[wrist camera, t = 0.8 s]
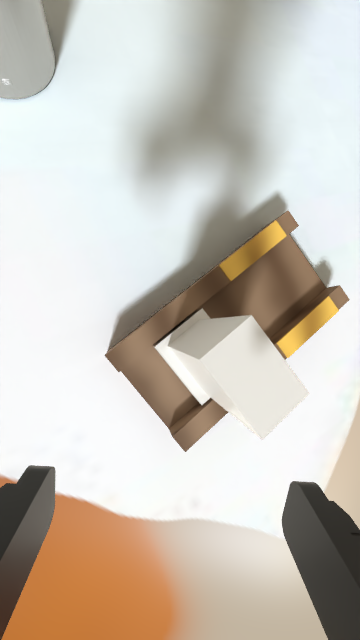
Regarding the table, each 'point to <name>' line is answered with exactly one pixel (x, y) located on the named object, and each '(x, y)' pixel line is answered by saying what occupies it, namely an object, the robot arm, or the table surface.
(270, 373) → the switch tab
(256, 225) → the table surface
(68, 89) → the table surface
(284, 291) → the switch housing
